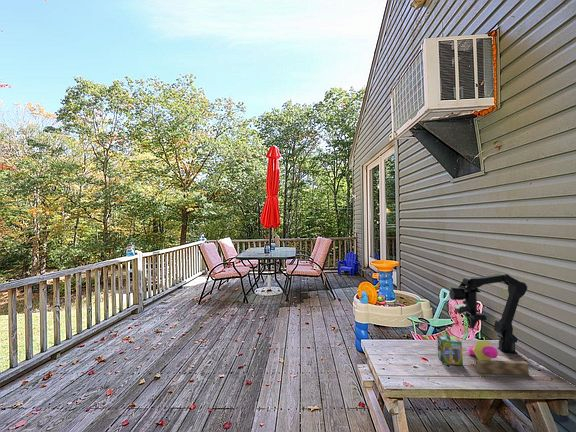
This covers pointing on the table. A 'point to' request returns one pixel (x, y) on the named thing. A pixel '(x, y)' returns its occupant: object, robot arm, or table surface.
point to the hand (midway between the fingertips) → (471, 328)
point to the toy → (483, 350)
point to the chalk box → (449, 349)
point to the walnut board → (502, 367)
